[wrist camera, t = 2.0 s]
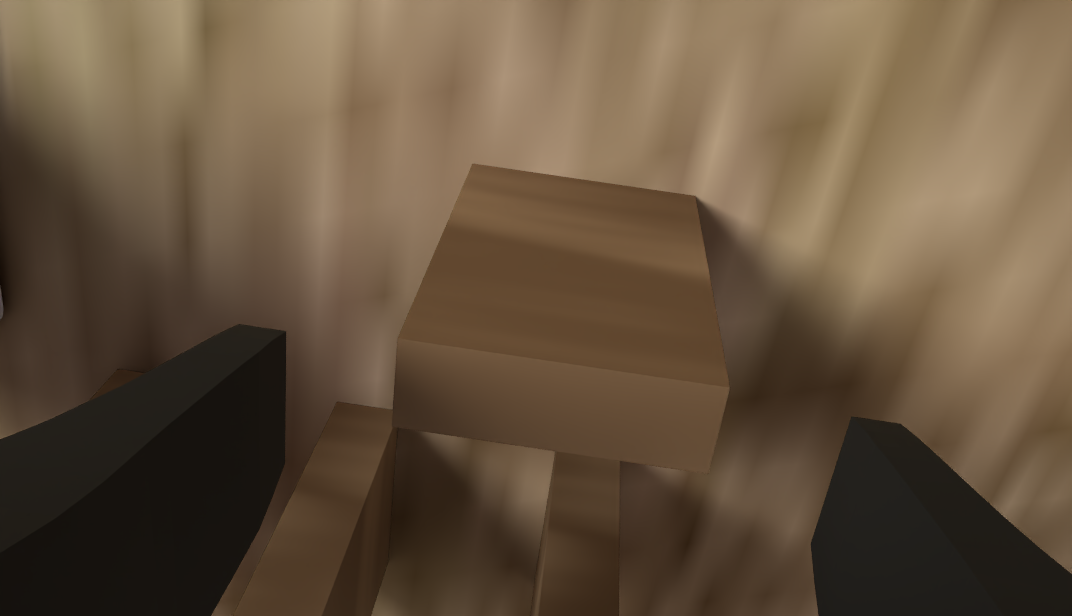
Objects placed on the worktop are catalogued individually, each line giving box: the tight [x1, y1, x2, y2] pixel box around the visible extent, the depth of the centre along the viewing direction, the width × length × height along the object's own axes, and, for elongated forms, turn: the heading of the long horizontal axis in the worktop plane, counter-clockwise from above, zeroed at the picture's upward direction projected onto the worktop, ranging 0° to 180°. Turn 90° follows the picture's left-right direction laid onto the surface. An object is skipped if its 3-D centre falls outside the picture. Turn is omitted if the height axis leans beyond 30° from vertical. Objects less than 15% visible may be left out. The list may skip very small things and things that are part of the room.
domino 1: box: [233, 402, 398, 616], centre depth 20 cm, size 1×4×7 cm, turn 173°
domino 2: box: [392, 164, 730, 474], centre depth 16 cm, size 1×4×7 cm, turn 83°
